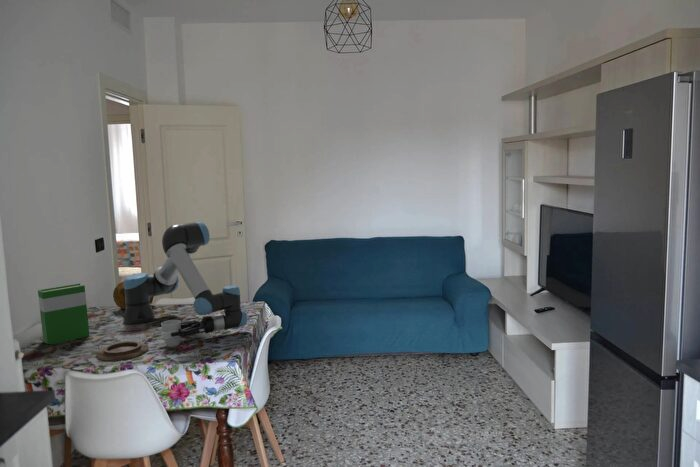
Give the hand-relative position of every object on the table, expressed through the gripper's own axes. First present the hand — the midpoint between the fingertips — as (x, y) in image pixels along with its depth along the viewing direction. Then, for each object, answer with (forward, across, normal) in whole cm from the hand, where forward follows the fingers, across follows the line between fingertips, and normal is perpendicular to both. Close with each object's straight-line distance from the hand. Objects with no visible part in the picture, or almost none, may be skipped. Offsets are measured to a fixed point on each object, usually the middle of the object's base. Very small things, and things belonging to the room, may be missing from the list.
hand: (160, 333), depth 233 cm
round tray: (+15, +3, -6) cm, 16 cm away
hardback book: (+33, +41, -6) cm, 53 cm away
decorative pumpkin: (-3, +81, -6) cm, 81 cm away
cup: (-5, 0, -6) cm, 8 cm away
